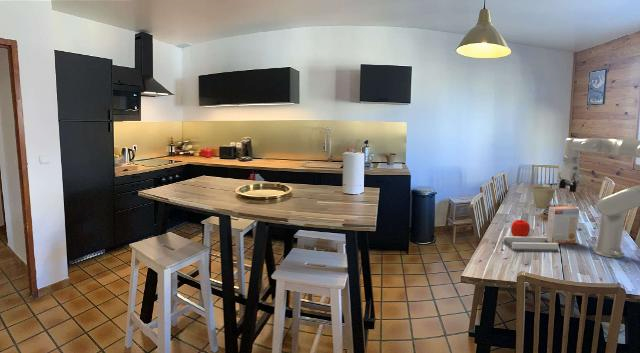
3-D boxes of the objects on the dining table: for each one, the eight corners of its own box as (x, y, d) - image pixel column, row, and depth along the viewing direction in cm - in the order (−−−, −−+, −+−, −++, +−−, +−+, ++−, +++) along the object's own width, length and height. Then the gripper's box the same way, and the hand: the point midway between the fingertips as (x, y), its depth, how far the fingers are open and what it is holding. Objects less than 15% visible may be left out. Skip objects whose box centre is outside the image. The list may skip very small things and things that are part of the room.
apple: (531, 243, 205) (533, 222, 203) (513, 241, 207) (515, 221, 205) (525, 237, 214) (527, 218, 212) (507, 236, 216) (509, 217, 214)
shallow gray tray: (558, 251, 192) (558, 244, 192) (513, 250, 193) (513, 243, 192) (544, 243, 204) (545, 236, 204) (502, 242, 205) (503, 236, 204)
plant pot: (532, 208, 283) (534, 189, 281) (529, 204, 297) (531, 185, 294) (554, 210, 277) (556, 190, 275) (550, 206, 291) (552, 187, 288)
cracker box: (568, 240, 209) (572, 205, 206) (575, 244, 203) (580, 208, 200) (544, 240, 209) (548, 206, 205) (551, 244, 203) (555, 208, 199)
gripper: (588, 162, 190) (583, 193, 193) (568, 158, 207) (565, 187, 210) (573, 161, 191) (569, 193, 194) (555, 158, 208) (551, 186, 211)
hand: (567, 190), depth 202 cm, fingers open, 9 cm apart
